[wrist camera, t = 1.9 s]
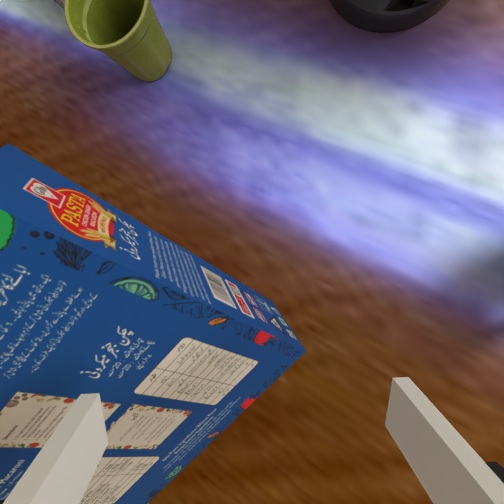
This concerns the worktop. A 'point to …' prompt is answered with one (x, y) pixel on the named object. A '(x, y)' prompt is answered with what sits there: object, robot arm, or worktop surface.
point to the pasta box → (119, 335)
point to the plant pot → (122, 33)
